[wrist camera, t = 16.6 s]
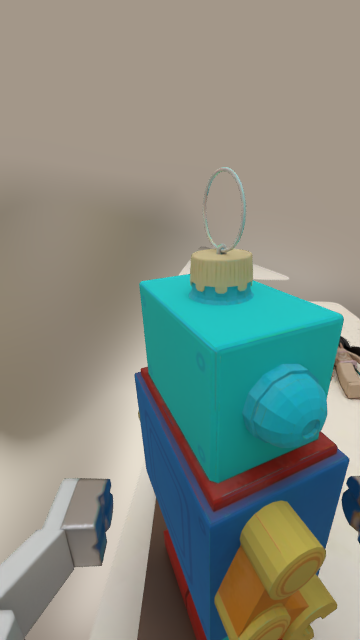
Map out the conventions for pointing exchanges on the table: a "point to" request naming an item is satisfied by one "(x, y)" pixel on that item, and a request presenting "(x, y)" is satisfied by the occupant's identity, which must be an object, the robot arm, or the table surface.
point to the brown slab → (162, 593)
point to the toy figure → (348, 368)
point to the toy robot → (240, 443)
